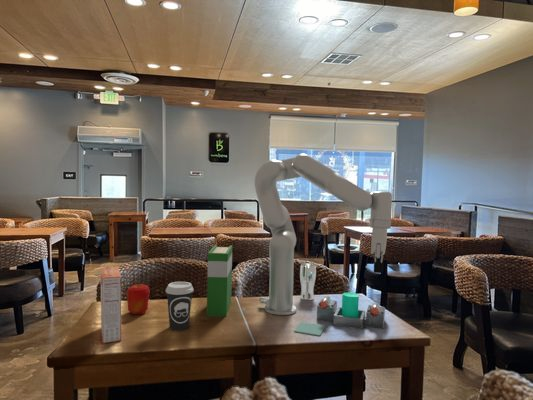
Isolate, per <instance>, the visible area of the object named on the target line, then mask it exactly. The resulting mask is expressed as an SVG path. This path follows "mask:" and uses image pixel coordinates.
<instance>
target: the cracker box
mask: <svg viewBox="0 0 533 400" xmlns="http://www.w3.org/2000/svg"><path fill="white" fill-rule="evenodd" d="M100 323H101V325H100V326H101V339H102V341H101V342H102V344H109V343H114V342H115V343H116V342H121V341H122V275H121V272H120V268H119V266H111V267H108V266H107V267H101V268H100Z"/></svg>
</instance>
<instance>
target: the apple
mask: <svg viewBox="0 0 533 400" xmlns="http://www.w3.org/2000/svg"><path fill="white" fill-rule="evenodd" d="M150 292H151V290H150V288H149V285H146V284H143V283H140V282H138V283H137V284H132V285H131V286H130V287H128V288H127V290H126V300H127V311H128V312H129V313H130V314H132V315H135V316H137V315H138V316H139V315H143V314H145V313H146V312H147V310H148V309H149V298H150Z"/></svg>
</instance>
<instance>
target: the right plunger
mask: <svg viewBox="0 0 533 400" xmlns="http://www.w3.org/2000/svg"><path fill="white" fill-rule="evenodd" d="M371 306H372V308H371V309H370V314H371V315H372V316H378V314H379V307H381V306H380V303H379V302H377V301H376V302H373V303H372V304H371Z"/></svg>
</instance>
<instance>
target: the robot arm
mask: <svg viewBox="0 0 533 400" xmlns="http://www.w3.org/2000/svg"><path fill="white" fill-rule="evenodd" d="M254 176H255V177H254V188H255V193H256V196H257V200H258V204H259V208H260V212H261V214H262V219H263V223H264V225H265V226H267V228H269V229H270V231H271V234H272V236H271V239H270V240H269V246H268V249H269V250H268V252H269V284H268V285H269V286H268V287H269V289H268V297H263V296H260V297H259V299H258V300H259V302H260V304H265V306H264V310H265V312H266V313H268V314H271V315H275V316H288V315H293V314H295V313H296V312H297V307H296V306H295V305H294V304H293V301H294V268H295V267H294V263H295V260H294V259H295V258H294V257H295V256H294V255H295V247H296V245H297V236H296V232H295V229H294V225H293V222H292V218H291V216H290V215H291V214H290V213H289V210H288V208H286V206H285V205H283V203H282V201H281V198H280V194H279V191H278V188H277V182H282V181H286V180H291V179H296V178H297V179H298V178H301V177H302V178H303V179H305V180H306V181H308V182H310V183H311V184H313V185H314V186H316V187H317V188H319V189H321V190H322V191H324V192H325V193H327V194H329V195H332V196H333V197H335V198H337V199H338V200H339V201H342V202H343V203H345V204H347V205H348V206H350V207H351V208H353V209H354V210H356V211H359V212H363V211H366V210H369V209H370V219H369V220H370V221H369V227H370V229H371V228H372V231H371V242H370V243H371V246H370V254H371V255H373V254H374V262H373V273H376V274H383V272H384V255H385V254H386V249H387V248H386V247H387V240H388V239H387V238H388V230H389V229H391V228H392V226H391V225H392V205H393V204H392V202H393V194H392V192H390V191H382V190H381V191H380V190H379V191H378V190H377V191H369V190H365V189H363V188H361V187H359V185H356V184H355V183H353V182H351V181H350V180H348V179H346V178H345V177H344V176H342V175H341V174H339V172H337V171H336V170H333V169H332V168H330V167H329V166H327V165H325V164H323V163H322V162H320V161H319V160H317V159H316V158H314V157H312V156H311V155H309V154H306V153H299V154H297V155H296V156H295V157H291V158H290V157H289V158H286V159H281V160H279V159H278V160H277V159H269V160H266V161H265V162H264V163H263V164H262V165H260V167H259V168H258V170H257V171H256V174H255V175H254Z"/></svg>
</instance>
